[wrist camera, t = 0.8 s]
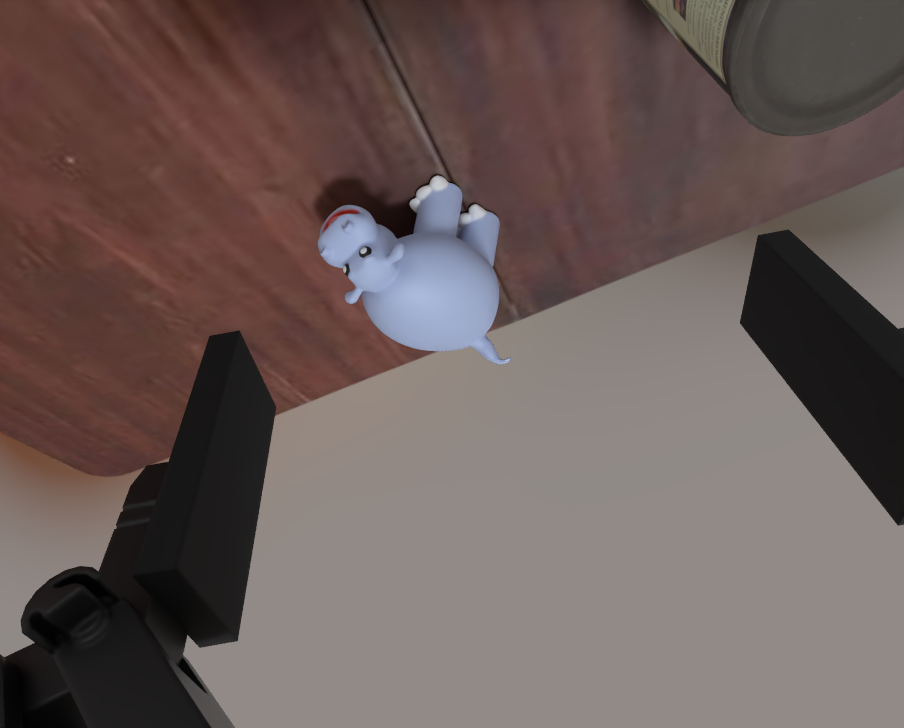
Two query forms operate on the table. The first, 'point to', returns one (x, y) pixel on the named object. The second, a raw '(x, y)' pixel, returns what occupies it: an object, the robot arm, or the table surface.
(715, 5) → the coffee can
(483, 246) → the hippopotamus toy
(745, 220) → the table surface
